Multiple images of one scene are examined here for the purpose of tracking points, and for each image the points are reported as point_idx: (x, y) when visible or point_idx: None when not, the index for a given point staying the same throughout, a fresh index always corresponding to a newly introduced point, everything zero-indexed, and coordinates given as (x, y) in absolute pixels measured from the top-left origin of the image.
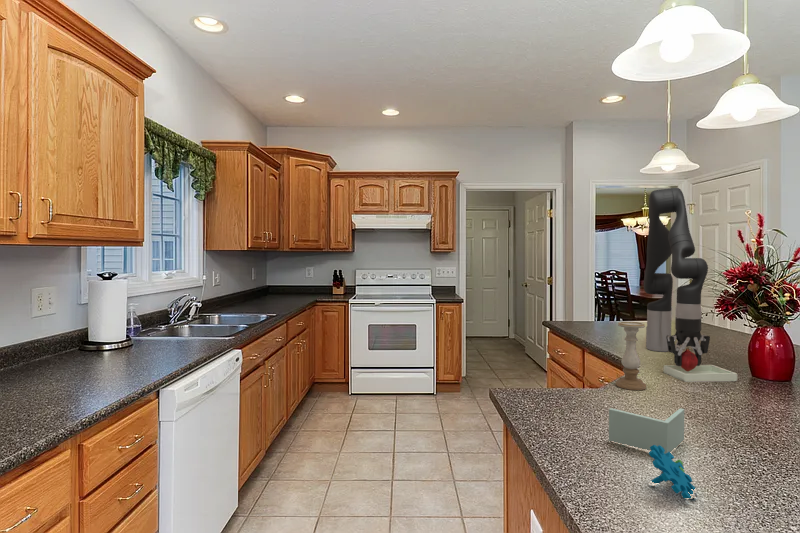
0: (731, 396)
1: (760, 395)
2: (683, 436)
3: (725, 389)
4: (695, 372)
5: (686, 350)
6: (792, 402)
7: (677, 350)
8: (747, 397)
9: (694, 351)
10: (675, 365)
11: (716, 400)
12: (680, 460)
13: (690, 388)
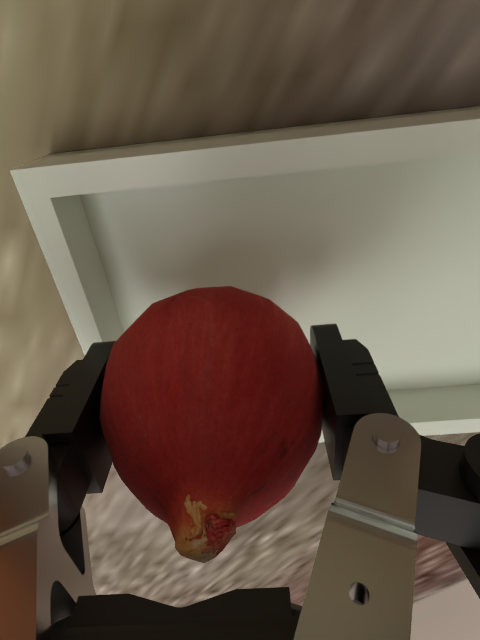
0: (251, 562)
1: None
2: None
3: (295, 503)
4: (353, 215)
5: (174, 532)
6: (432, 593)
7: (36, 502)
8: (309, 567)
9: (348, 461)
10: (163, 165)
11: (162, 589)
12: None
13: (122, 498)
